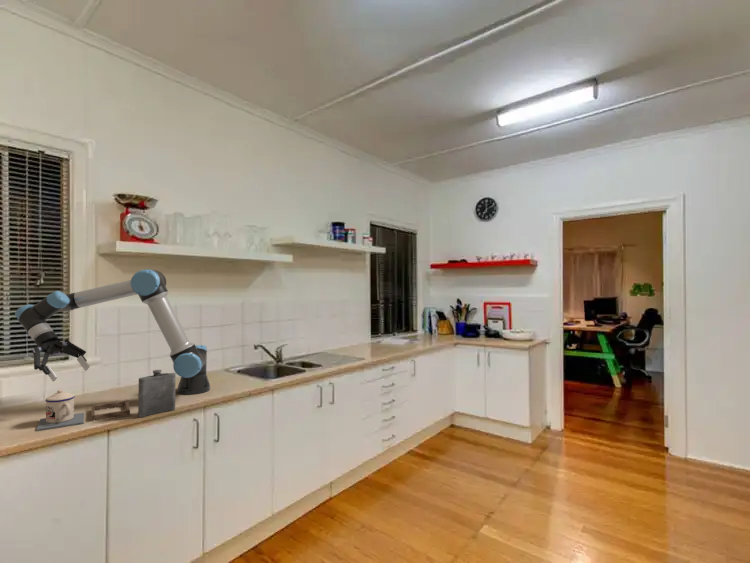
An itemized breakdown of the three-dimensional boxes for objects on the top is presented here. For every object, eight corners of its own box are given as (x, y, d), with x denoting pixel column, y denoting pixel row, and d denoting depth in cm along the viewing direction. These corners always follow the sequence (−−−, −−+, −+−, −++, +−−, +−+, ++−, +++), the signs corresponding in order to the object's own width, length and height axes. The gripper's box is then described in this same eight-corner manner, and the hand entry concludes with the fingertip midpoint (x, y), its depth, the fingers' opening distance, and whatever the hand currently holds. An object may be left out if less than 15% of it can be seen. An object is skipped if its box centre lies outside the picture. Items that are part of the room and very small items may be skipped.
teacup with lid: (41, 420, 157) (41, 390, 157) (68, 414, 165) (68, 385, 165) (54, 426, 151) (54, 395, 151) (82, 419, 158) (82, 390, 158)
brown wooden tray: (127, 405, 179) (127, 400, 179) (129, 415, 166) (130, 410, 166) (91, 410, 172) (91, 405, 172) (91, 421, 159) (91, 416, 159)
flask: (136, 416, 165) (136, 372, 165) (172, 408, 176) (173, 367, 176) (139, 418, 163) (140, 373, 163) (176, 410, 173) (176, 368, 174)
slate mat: (84, 413, 167) (84, 412, 167) (83, 423, 156) (83, 422, 156) (40, 420, 159) (40, 418, 159) (36, 431, 148) (36, 429, 148)
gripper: (69, 334, 187) (95, 369, 184) (6, 349, 163) (36, 389, 161) (76, 324, 185) (103, 359, 182) (14, 337, 161) (44, 378, 158)
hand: (72, 373), depth 171 cm, fingers open, 13 cm apart
